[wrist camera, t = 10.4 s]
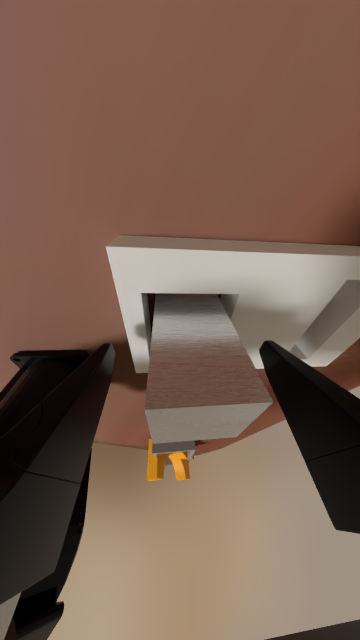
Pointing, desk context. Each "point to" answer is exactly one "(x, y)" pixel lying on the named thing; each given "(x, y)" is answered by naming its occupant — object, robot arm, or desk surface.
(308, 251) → the socket plate
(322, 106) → the desk surface
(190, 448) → the clamp holder frame
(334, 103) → the desk surface
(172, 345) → the square peg
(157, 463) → the pipe clamp
